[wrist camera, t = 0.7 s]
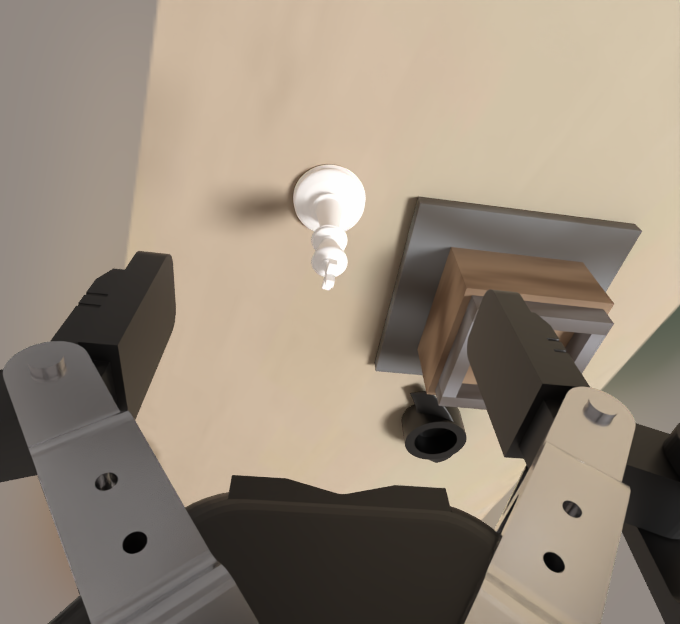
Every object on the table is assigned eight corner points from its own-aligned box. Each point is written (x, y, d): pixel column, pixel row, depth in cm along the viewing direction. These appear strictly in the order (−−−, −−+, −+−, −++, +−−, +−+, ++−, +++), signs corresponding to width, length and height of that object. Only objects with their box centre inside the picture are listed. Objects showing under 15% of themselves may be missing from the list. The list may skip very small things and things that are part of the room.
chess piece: (287, 222, 34) (275, 311, 26) (301, 156, 31) (292, 233, 23) (354, 237, 35) (362, 326, 27) (374, 173, 32) (389, 254, 24)
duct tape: (377, 441, 50) (380, 465, 48) (412, 376, 45) (417, 400, 42) (446, 452, 52) (451, 476, 50) (488, 390, 46) (496, 414, 44)
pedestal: (418, 196, 33) (437, 255, 27) (635, 224, 35) (697, 284, 29) (374, 362, 43) (382, 431, 37) (545, 378, 45) (578, 446, 39)
